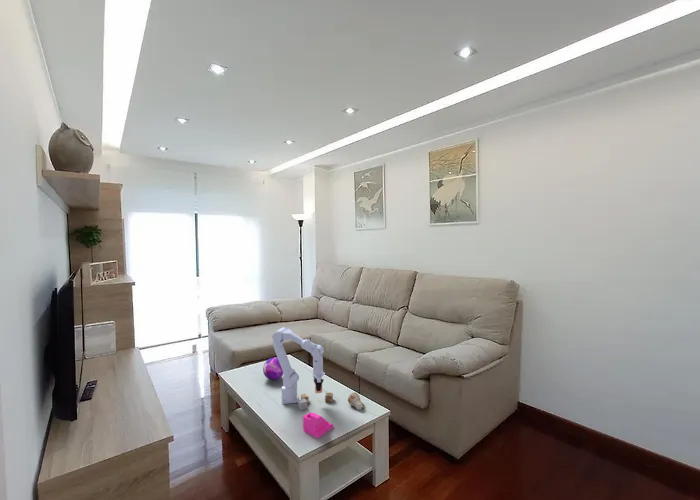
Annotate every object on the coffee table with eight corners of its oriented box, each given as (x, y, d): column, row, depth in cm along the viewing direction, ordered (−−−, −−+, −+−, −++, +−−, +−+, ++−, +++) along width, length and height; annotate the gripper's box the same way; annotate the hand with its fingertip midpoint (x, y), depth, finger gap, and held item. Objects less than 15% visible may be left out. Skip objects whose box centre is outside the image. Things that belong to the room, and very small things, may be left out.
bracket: (317, 438, 159) (317, 418, 158) (303, 431, 165) (302, 411, 165) (333, 427, 168) (333, 408, 168) (319, 420, 175) (319, 401, 174)
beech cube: (302, 404, 191) (302, 397, 191) (300, 400, 195) (300, 394, 195) (308, 402, 192) (308, 396, 192) (307, 399, 196) (307, 393, 196)
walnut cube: (325, 402, 193) (325, 395, 193) (326, 398, 197) (326, 392, 197) (331, 402, 192) (331, 396, 192) (332, 399, 196) (332, 392, 196)
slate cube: (300, 410, 185) (300, 403, 185) (298, 406, 188) (298, 400, 188) (307, 408, 187) (306, 401, 187) (304, 404, 190) (304, 398, 190)
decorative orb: (289, 377, 227) (289, 356, 226) (274, 386, 214) (273, 364, 213) (274, 372, 235) (274, 352, 234) (258, 380, 222) (258, 359, 221)
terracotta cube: (315, 393, 188) (315, 386, 188) (315, 390, 192) (314, 383, 192) (322, 392, 189) (322, 386, 188) (321, 389, 192) (321, 382, 192)
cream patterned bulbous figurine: (356, 413, 181) (349, 396, 184) (351, 412, 189) (344, 396, 192) (367, 407, 184) (360, 389, 187) (362, 406, 193) (355, 390, 195)
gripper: (325, 371, 183) (326, 394, 184) (323, 361, 197) (324, 382, 198) (313, 372, 182) (313, 395, 182) (312, 361, 196) (312, 383, 197)
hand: (318, 388), depth 190 cm, fingers closed on terracotta cube, 4 cm apart
